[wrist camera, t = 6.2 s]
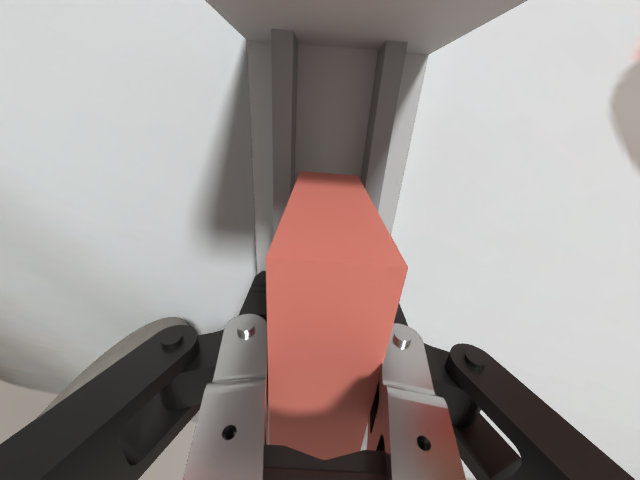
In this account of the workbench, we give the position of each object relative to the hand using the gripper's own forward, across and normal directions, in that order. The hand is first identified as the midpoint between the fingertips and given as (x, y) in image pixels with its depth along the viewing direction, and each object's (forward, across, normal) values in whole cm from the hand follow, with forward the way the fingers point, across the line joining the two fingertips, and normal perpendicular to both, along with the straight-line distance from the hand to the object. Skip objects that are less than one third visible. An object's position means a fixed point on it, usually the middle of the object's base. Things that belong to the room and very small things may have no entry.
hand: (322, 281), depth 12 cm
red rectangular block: (+4, 0, +1) cm, 4 cm away
